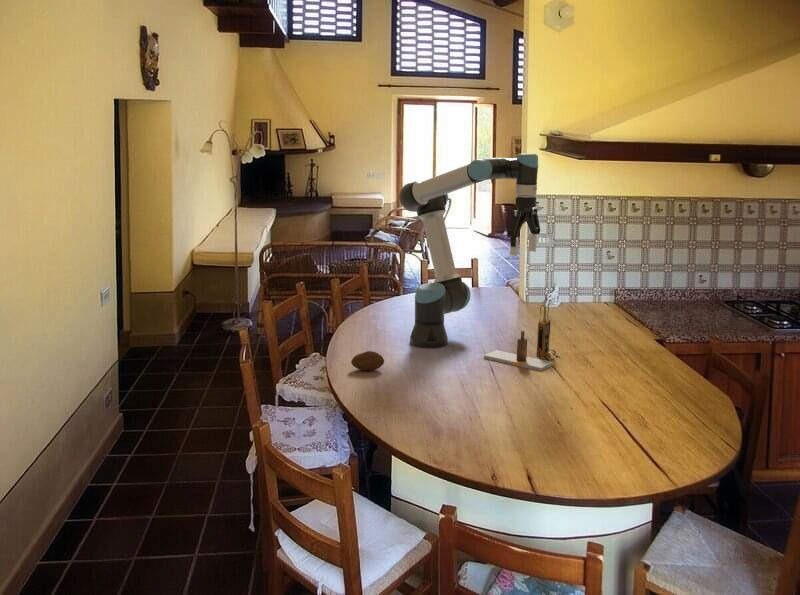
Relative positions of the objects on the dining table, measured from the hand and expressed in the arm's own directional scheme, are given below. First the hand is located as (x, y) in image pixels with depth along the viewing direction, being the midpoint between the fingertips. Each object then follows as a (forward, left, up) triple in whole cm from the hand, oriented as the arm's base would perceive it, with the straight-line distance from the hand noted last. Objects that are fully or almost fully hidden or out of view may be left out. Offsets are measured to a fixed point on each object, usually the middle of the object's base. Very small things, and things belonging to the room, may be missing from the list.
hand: (523, 253), depth 289 cm
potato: (-30, -54, -39) cm, 73 cm away
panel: (+6, -11, -39) cm, 40 cm away
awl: (+8, -12, -37) cm, 40 cm away
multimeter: (+12, +5, -39) cm, 41 cm away
